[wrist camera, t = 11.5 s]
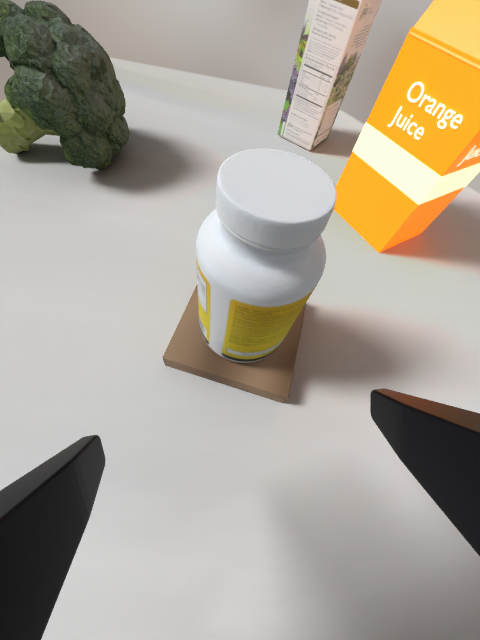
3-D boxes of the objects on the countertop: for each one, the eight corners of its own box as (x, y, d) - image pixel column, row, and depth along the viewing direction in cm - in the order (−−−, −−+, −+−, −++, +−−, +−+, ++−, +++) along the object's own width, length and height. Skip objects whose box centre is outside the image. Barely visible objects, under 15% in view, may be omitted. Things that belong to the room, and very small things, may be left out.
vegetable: (13, 89, 31) (117, 23, 28) (73, 200, 36) (168, 155, 32) (-128, 26, 20) (15, -97, 17) (-17, 197, 25) (115, 128, 21)
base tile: (301, 304, 23) (307, 295, 22) (282, 402, 19) (288, 398, 18) (206, 275, 24) (206, 264, 22) (165, 365, 19) (162, 357, 18)
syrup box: (296, 123, 40) (338, -33, 28) (329, 139, 39) (388, -16, 27) (276, 135, 38) (313, -30, 25) (311, 153, 37) (367, -11, 24)
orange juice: (378, 253, 28) (659, -89, 11) (326, 203, 31) (478, -122, 14) (422, 233, 31) (704, -68, 13) (370, 188, 34) (544, -100, 17)
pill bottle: (299, 341, 20) (397, 212, 10) (226, 382, 18) (256, 270, 8) (253, 280, 22) (294, 126, 12) (183, 309, 20) (164, 150, 10)
